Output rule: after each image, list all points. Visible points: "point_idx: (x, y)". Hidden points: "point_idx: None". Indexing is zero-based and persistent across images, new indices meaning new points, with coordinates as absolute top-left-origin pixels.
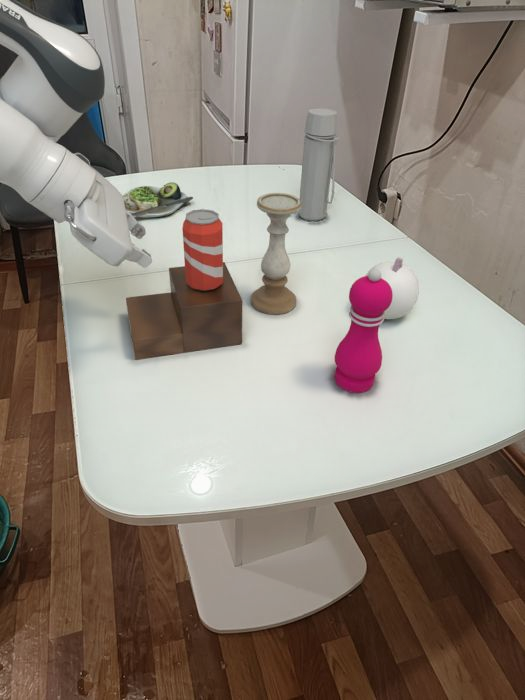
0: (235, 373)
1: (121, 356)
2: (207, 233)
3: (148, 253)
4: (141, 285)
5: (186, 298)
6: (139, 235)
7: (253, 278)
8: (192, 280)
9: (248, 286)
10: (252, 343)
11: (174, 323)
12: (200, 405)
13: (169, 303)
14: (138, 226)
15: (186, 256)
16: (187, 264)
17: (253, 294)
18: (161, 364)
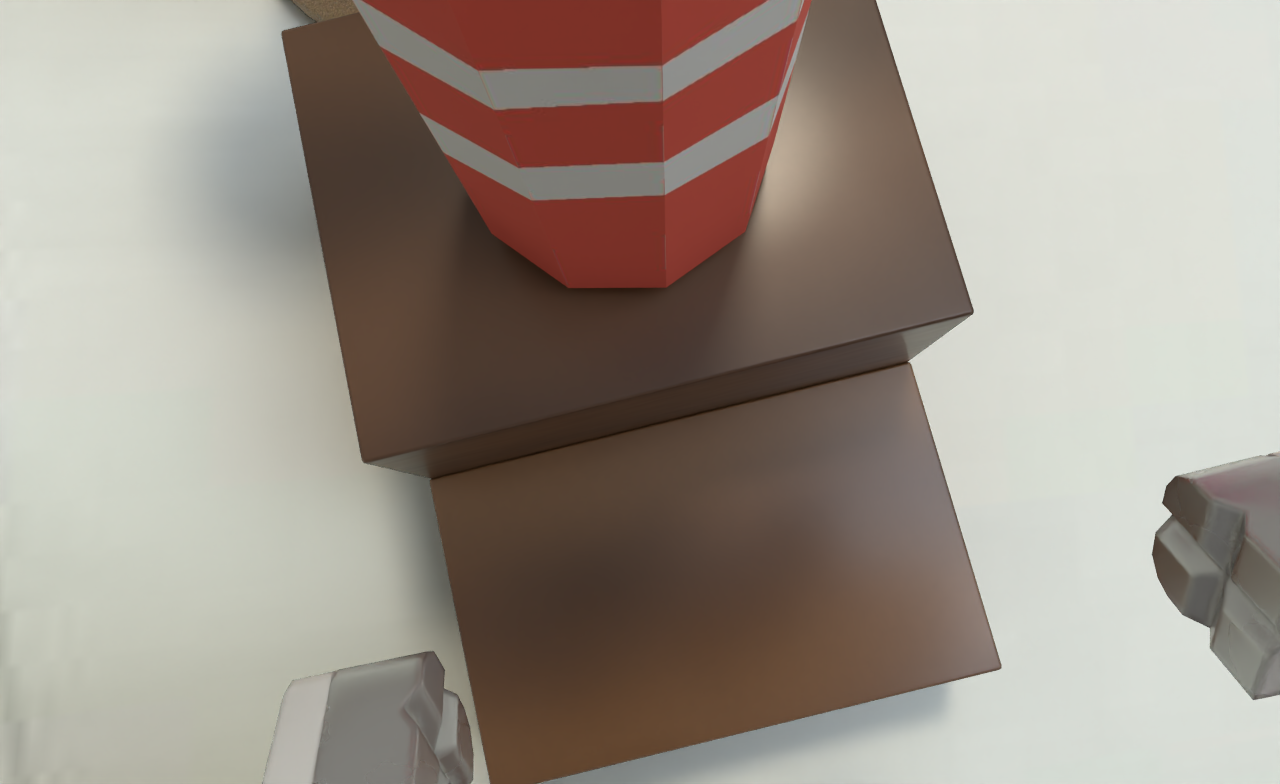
0: (1028, 122)
1: (921, 733)
2: None
3: (1234, 502)
4: (160, 720)
5: (839, 281)
6: (459, 741)
7: (128, 29)
8: (751, 201)
9: (217, 58)
10: None
11: (804, 419)
12: (1277, 277)
13: (570, 474)
14: (414, 780)
15: (705, 158)
16: (706, 190)
17: (350, 11)
18: (979, 498)
